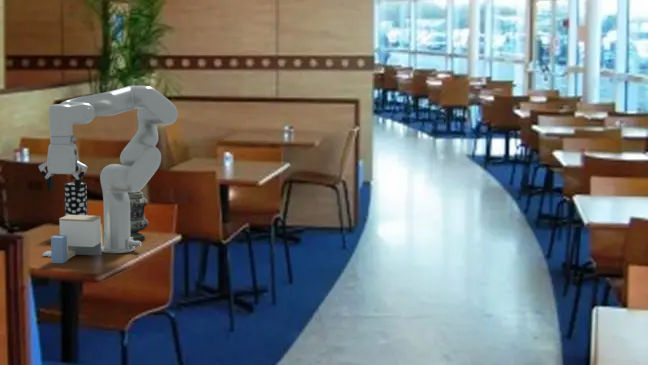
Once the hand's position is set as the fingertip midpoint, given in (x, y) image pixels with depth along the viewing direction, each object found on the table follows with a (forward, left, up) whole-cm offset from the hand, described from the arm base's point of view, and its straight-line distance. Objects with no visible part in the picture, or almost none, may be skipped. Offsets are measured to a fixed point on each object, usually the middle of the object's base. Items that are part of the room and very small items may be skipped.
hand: (64, 190), depth 335 cm
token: (+9, -8, -25) cm, 28 cm away
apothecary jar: (-9, -44, -25) cm, 51 cm away
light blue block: (+2, -3, -25) cm, 25 cm away
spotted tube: (+15, -47, -25) cm, 55 cm away
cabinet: (-2, -8, -25) cm, 26 cm away
